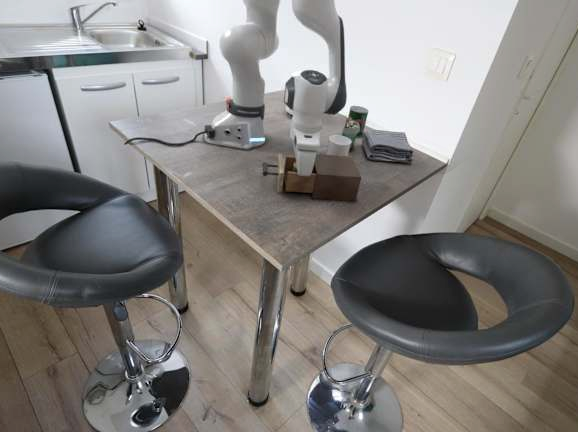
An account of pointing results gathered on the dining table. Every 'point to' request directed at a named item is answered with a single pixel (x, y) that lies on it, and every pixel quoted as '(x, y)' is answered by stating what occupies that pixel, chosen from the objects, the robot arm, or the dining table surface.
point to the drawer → (291, 176)
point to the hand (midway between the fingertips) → (299, 174)
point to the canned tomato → (358, 117)
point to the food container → (351, 131)
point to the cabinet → (336, 178)
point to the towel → (387, 146)
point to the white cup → (338, 145)
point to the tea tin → (295, 167)
